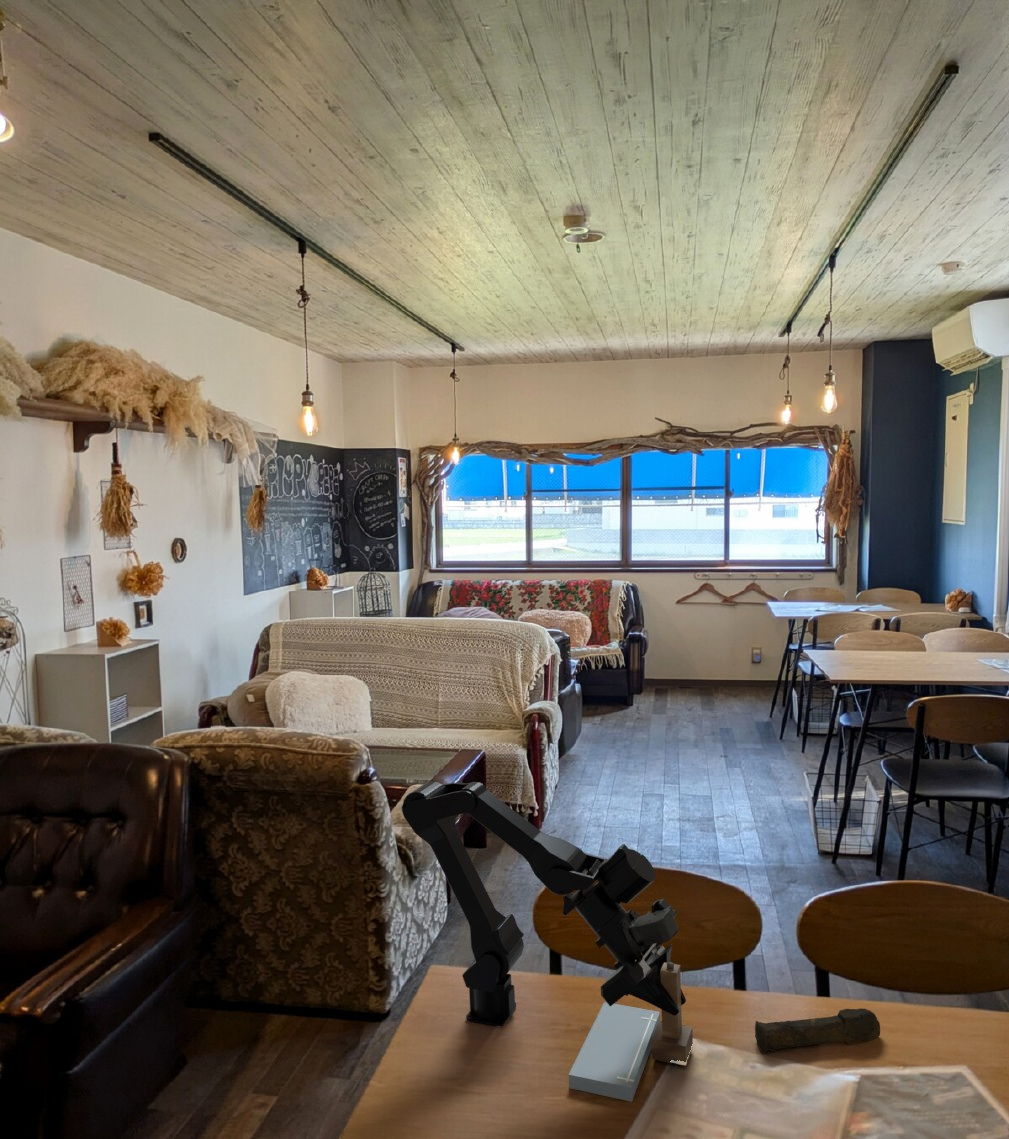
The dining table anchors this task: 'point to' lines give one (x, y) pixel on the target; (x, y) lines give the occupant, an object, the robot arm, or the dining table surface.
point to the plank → (615, 1052)
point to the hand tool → (819, 1030)
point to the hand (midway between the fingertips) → (680, 1008)
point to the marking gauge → (671, 1022)
